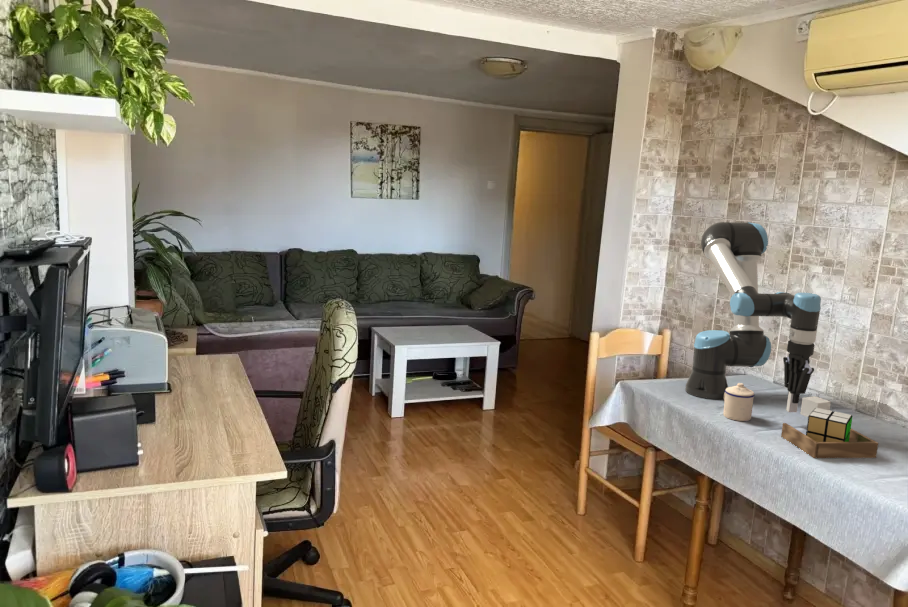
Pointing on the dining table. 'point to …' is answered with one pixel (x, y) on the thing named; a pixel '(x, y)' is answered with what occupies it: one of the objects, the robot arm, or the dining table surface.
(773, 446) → the dining table surface
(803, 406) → the cream white cube
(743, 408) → the teacup with lid
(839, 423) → the puzzle cube
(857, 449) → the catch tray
